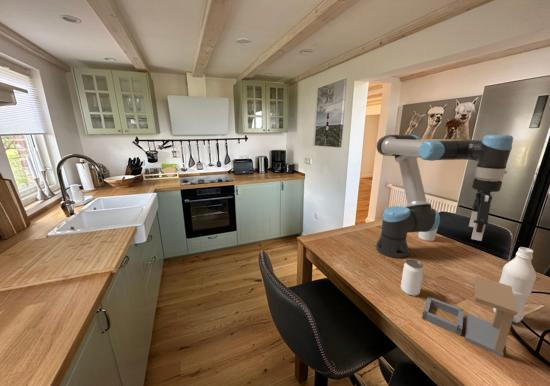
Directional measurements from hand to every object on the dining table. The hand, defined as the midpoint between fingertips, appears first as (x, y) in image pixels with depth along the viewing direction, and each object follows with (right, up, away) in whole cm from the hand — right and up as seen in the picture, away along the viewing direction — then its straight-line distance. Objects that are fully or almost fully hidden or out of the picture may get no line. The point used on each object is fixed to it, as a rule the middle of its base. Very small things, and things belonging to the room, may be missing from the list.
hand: (474, 233), depth 85 cm
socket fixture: (-18, -27, -14) cm, 35 cm away
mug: (+12, -11, +46) cm, 49 cm away
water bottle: (0, -26, -11) cm, 29 cm away
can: (-24, -23, +2) cm, 33 cm away
